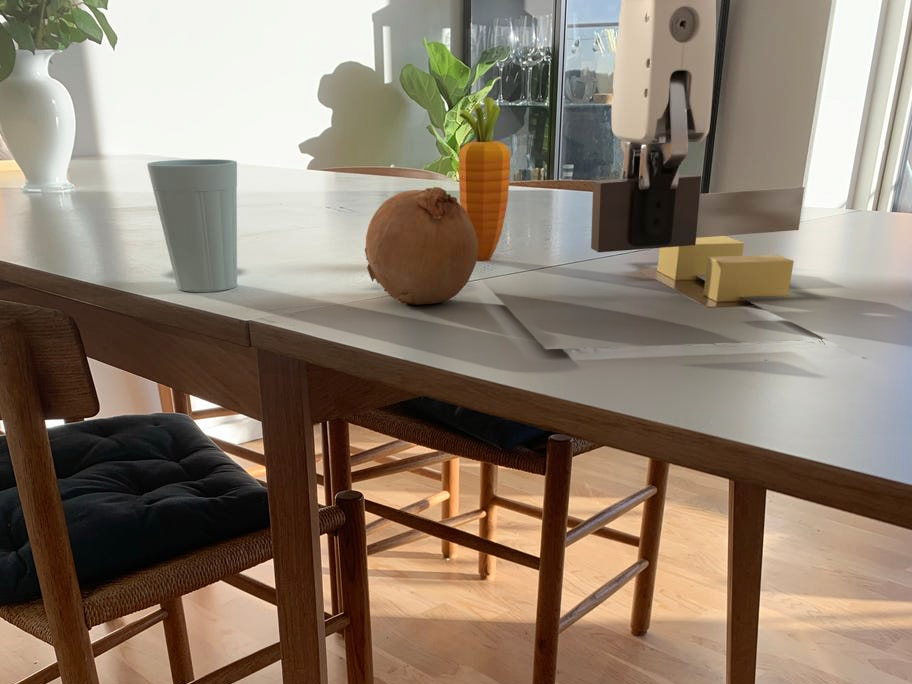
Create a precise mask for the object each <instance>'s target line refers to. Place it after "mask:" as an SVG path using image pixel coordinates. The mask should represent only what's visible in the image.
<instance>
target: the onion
mask: <svg viewBox="0 0 912 684" xmlns="http://www.w3.org/2000/svg"><path fill="white" fill-rule="evenodd" d="M364 253H365V257H366V258H365V259H366V261H367V263H368V264H367V266H366V269H367V272H368V275H369V278H370V280H371V281H372V282H374V281H376V283H377V284H380V286H381V287H382V288H383V291H384V292H386V293H387V294H388V295H389V296H390V297H392V298H393V299H394V300H395V299H396V300H398V301H397V303H398V304H400V305H403V304H406V305H414V306H415V305H417V306H418V305H433V304H441V303H444V302H446V301H449V300H451V299H453V298H454V297H456V296H457V295H458V294H459V293H460V292H461V291H462V290H463V288H464V287H466V285H467V284H468V282H469V281H470V279H471V277H472V274H473V272H474V270H475V266H476V264H477V256H478V242H477V237H476V233H475V229H474V227H473V225H472V222H471V220H470V218H469V217H468V215H467V213H466V211H465V210H464V208H463V207H462V206H461V204H460V202H458V198H457V197H455V196H452V195H451V193H447V191H446V189H443V188H441V187H439V186H437V187H436V186H433V187H429V188H425V189H424V190H421V189H412V190H406V191H402V192H399V193H397V194H395V195H393V196H390V197H389V198H387V199H386V200H385V201H384V202H383V203H381V205H379V207H378V208H377V210H376V211H375V212H374V214H373V216H372V218H371V219H370V221H369V224H368V227H367V231H366V235H365V247H364Z"/></svg>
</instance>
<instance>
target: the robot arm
mask: <svg viewBox="0 0 912 684" xmlns="http://www.w3.org/2000/svg"><path fill="white" fill-rule="evenodd" d="M620 1H621V2H620V9H619V18H618V23H617V26H618V28H617V35H616V43H615V45H616V46H615V55H614V67H613V79H612V91H611V119H610V120H611V132H612V133H613V135H614V136H615V137H616V138H617V139H618V140H620V148H621V150H622V152H623V156H622V157H623V158H622V159H623V160H622V173H621V174H622V175H621V179H626V178H639V190H634V195H633V209H632V222H631V236H630V242H631V244H632V245H634V246H655V245H668V244H669V243H670V242H671V239H672V229H673V218H674V207H675V197H676V188H677V186H678V180H679V175H680V166H681V165H682V163H683V161H684V160H685V159H686V158H687V157H688V154H689V152H688V151H689V143H700V142H702V141H703V140H704V139H705V138H706V137H707V136H708V134H709V133H710V126H711V117H712V104H713V90H714V76H715V58H716V41H717V39H716V38H717V0H620ZM664 140H665V141H664Z"/></svg>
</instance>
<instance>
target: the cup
mask: <svg viewBox="0 0 912 684" xmlns="http://www.w3.org/2000/svg"><path fill="white" fill-rule="evenodd" d="M146 166H147V170H148V174H149V179H150V183H151V185H152V186H151V187H152V190H153V195H154V198H155V199H154V200H155V203H156V208H157V211H158V215H159V219H160V223H161V227H162V232H163V235H164V239H165V244H166V248H167V251H168V256H169V261H170V264H171V268H172V273H173V276H174V280H175V284H176V288H177V289H178V290H180V291H183V292H191V293H213V292H214V293H215V292H222V291H227V290H231V289H234V288H236V287H237V285H238V224H237V223H238V200H237V199H238V198H237V197H238V195H237V194H238V191H237V188H238V162H237V161H236V160H233V159H216V158H215V159H214V158H213V159H212V158H200V159H199V158H197V159H196V158H195V159H194V158H193V159H192V158H191V159H172V160H171V159H169V160H159V161H151V162H148V163H146Z"/></svg>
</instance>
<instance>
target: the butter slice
mask: <svg viewBox="0 0 912 684" xmlns="http://www.w3.org/2000/svg"><path fill="white" fill-rule="evenodd" d="M794 262H795V261H794V260H793V259H790V258H787V257H784V256H781V255H780V254H764V255H763V254H762V255H761V254H760V255H743V256H721V257H708V263H707V270H706V275H705V277H704V278H705V279H704V280H705V285H704V293H703V295H704V296H706V297H708V298H710V299H712V300H714V301H716V302H731V301H748V300H747V299H744V298H745V297H771V296H772V297H775V296H788V295H789V291H790V285H791V279H792V274H793V268H794Z"/></svg>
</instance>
